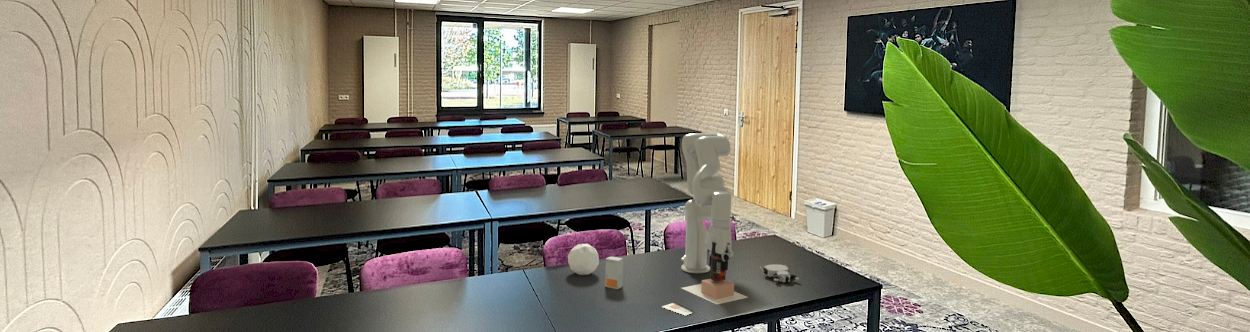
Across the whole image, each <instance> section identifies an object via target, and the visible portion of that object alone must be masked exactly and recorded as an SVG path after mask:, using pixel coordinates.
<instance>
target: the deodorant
mask: <svg viewBox="0 0 1250 332" xmlns="http://www.w3.org/2000/svg"><path fill="white" fill-rule="evenodd" d="M715 248H716V243H714V242H712V251H711V267H710V271H709V272H710V274H709V276H710V278H709V279H711V280H714V281H724V280H726V277H727V276H726V275H727V273H726V272H727V270H726V271H721V270H720V269H721V261H722V257H721V254H718V253H716V252H715ZM725 253H726V251H725ZM725 256H726V254H724V257H725Z"/></svg>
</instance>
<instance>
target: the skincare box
mask: <svg viewBox="0 0 1250 332" xmlns="http://www.w3.org/2000/svg"><path fill="white" fill-rule="evenodd" d="M623 270H624V258H623V257H618V256H608V257H606V258H605V277H604V281H605V282H604V286H605V287H607V288H610V289H614V290H619V289H621V288H623V279H624V278H623V277H624V273H623V272H624V271H623Z"/></svg>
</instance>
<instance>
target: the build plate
mask: <svg viewBox="0 0 1250 332" xmlns="http://www.w3.org/2000/svg"><path fill="white" fill-rule="evenodd" d="M701 284H702V283H698V284H693V285H689V286H685V287H684V286H683V287H681V289H682V290H684V291H686V292H689V293H690V294H693V295H695V296H697V297H700V298H702V299H704V300H706V301H708V302H710V303H713V304H715V305H721V304H727V303H730V302H735V301H738V300H744V299H747V298H748V299H749V297H748V296H747V295H745V294H741V293H740V292H737V291H735V290H734V295H733V296H729V297H724V298H720V299H714V298H712V297H710V296H708V295H705V294H703V293H701Z"/></svg>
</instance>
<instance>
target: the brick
mask: <svg viewBox="0 0 1250 332" xmlns="http://www.w3.org/2000/svg"><path fill="white" fill-rule="evenodd" d="M700 284H701V293H703V294H705V295H708V296H710V297H712V298H714V299H720V298H724V297H729V296H733V295H734V291H735V282H732V281H730V280H727V279H725V280H724V281H714V280H711V279H710V278H708V279H702V280H701V283H700Z"/></svg>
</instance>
